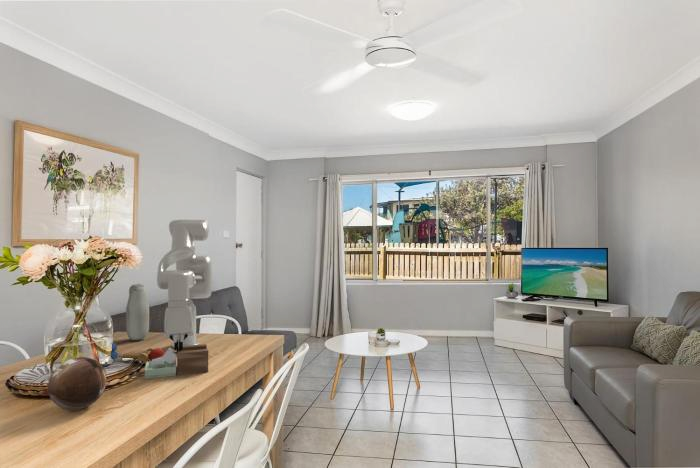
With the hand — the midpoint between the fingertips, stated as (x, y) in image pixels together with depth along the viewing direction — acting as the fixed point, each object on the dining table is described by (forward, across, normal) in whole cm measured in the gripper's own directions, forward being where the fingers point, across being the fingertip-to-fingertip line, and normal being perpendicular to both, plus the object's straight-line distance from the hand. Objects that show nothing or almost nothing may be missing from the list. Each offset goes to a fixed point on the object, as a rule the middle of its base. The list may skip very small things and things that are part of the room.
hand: (178, 351), depth 171 cm
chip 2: (+2, +1, +1) cm, 3 cm away
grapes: (+7, +28, -19) cm, 35 cm away
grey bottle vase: (+7, +18, -63) cm, 66 cm away
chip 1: (+4, +5, 0) cm, 6 cm away
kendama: (+8, +13, -18) cm, 24 cm away
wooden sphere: (+7, +28, +29) cm, 41 cm away
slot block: (+7, -5, 0) cm, 9 cm away
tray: (+7, +6, 0) cm, 10 cm away
